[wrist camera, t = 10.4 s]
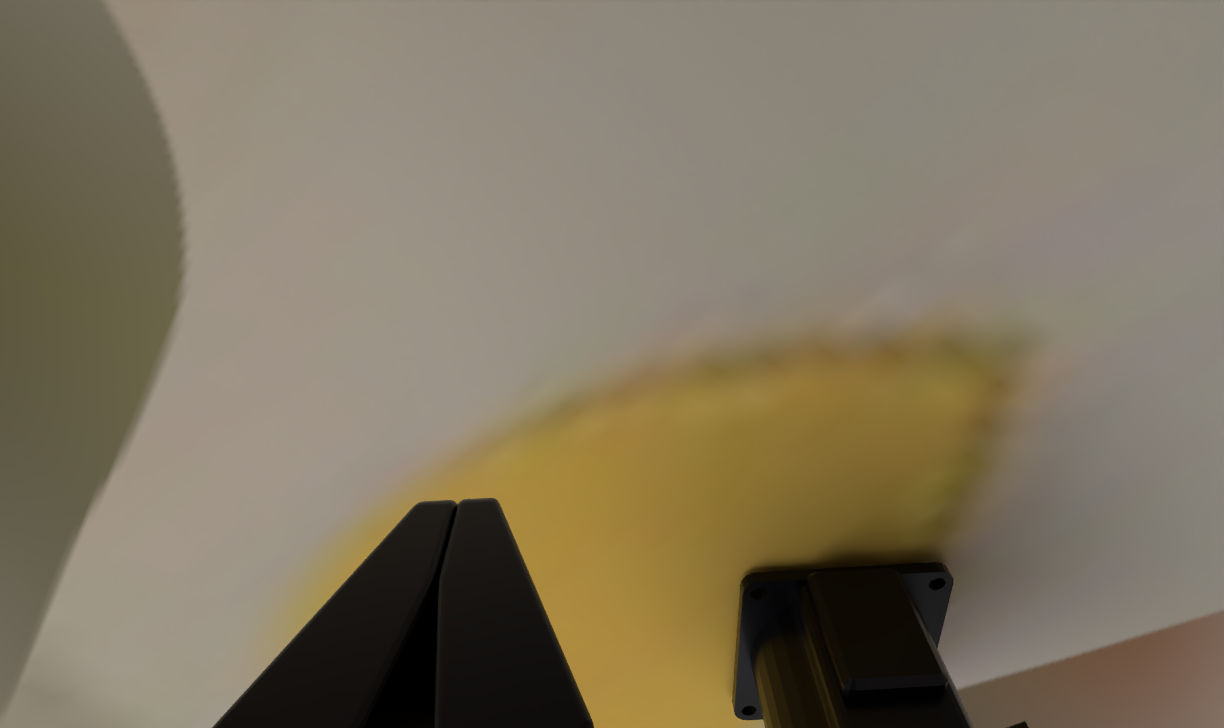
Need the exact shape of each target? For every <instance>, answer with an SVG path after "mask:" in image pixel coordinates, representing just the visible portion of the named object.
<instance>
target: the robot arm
mask: <svg viewBox="0 0 1224 728" xmlns="http://www.w3.org/2000/svg"><path fill="white" fill-rule="evenodd" d="M936 578H937V579H936ZM933 579H935V580H933ZM952 586H953V577H952V576H951V574H950V572H949V570H948V568H947V567H946V566H945V565H943V564H941V563H921V564H903V565H884V566H866V567H848V568H830V569H811V570H793V571H775V572H757V573H752V574H750V575H748V576H746V577H745V578H744V579H743V580H742V582H741V585H740V597H739V612H738V626H737V641H736V655H735V670H734V685H733V699H732V702H733V707H734V712H735V715H736V716H737V717H738V718H739V719H742V720H760V719H763V720H764V724H765V728H974V726H973V724H972V722H971V720H970V718H969V715H968V713H967V711H966V709H965V707H964V705H963V703H962V701H961V699H960V696H959V694H958V692H957V690H956V688H955V686H954V684H953V681H952V679H951V677H950V675H949V673H948V671H947V669H946V667H945V665H944V662H943V660H942V658H941V656H940V654H939V652H938V650H937V647H938V643H939V639H940V635H941V631H942V627H943V623H944V619H945V615H946V611H947V607H948V603H949V599H950V595H951V591H952ZM757 588H761V589H759V590H754V589H757ZM212 728H594V725H593V721H592V719H591V717H590V714H589V712H588V710H587V707H586V705H585V703H584V700H583V698H582V696H581V693H580V691H579V689H578V686H577V684H576V681H575V679H574V677H573V674H572V672H571V670H570V667H569V665H568V663H567V660H566V658H565V656H564V653H563V651H562V649H561V646H560V644H559V642H558V639H557V637H556V635H555V632H554V630H553V628H552V625H551V623H550V621H549V618H548V616H547V614H546V611H545V609H544V607H543V604H542V602H541V600H540V597H539V595H538V592H537V590H536V588H535V585H534V583H533V581H532V578H531V576H530V574H529V571H528V569H527V567H526V564H525V562H524V560H523V557H522V555H521V553H520V550H519V548H518V546H517V543H516V541H515V539H514V536H513V534H512V532H511V529H510V527H509V525H508V522H507V520H506V518H505V515H504V513H503V511H502V508H501V506H500V504H499V502H498V501H497V500H496V499H494V498H480V499H464V500H462V501H460V502H459V503H458V505H457V503H456V502H455V501H453V500H442V501H424V502H419V503H418V504H416V505H415V506H414V507H413V508H412V509H411V510H410V511H409V512H408V513H407V514H406V515H405V517H404V518H403V519H402V520H401V521H400V522H399V523H398V524H397V525H396V526H395V528H394V529H393V530H392V531H391V532H390V533H389V534H388V535H387V536H386V537H385V539H384V540H383V541H382V542H381V543H380V544H379V545H378V546H377V547H376V548H375V549H374V551H373V552H372V553H371V554H370V555H369V556H368V557H367V558H366V559H365V560H364V562H363V563H362V564H361V565H360V566H359V567H358V568H357V569H356V570H355V571H354V573H353V574H352V575H351V576H350V577H349V578H348V579H347V580H346V581H345V582H344V583H343V585H342V586H341V587H340V588H339V589H338V590H337V591H336V592H335V593H334V594H333V596H332V597H331V598H330V599H329V600H328V601H327V602H326V603H325V604H324V605H323V607H322V608H321V609H320V610H319V611H318V612H317V613H316V614H315V615H314V616H313V618H312V619H311V620H310V621H309V622H308V623H307V624H306V625H305V626H304V627H303V628H302V630H301V631H300V632H299V633H298V634H297V635H296V636H295V637H294V638H293V639H292V641H291V642H290V643H289V644H288V645H287V646H286V647H285V648H284V649H283V650H282V652H281V653H280V654H279V655H278V656H277V657H276V658H275V659H274V660H273V661H272V663H271V664H270V665H269V666H268V667H267V668H266V669H265V670H264V671H263V672H262V673H261V675H260V676H259V677H258V678H257V679H256V680H255V681H254V682H253V683H252V684H251V686H250V687H249V688H248V689H247V690H246V691H245V692H244V693H243V694H242V695H241V697H240V698H239V699H238V700H237V701H236V702H235V703H234V704H233V705H232V706H231V707H230V709H229V710H228V711H227V712H226V713H225V714H224V715H223V716H222V717H221V718H220V720H219V721H218V722H217V723H216V724H215V725H214V726H213V727H212ZM1007 728H1029V727H1028V726H1027V724H1026V722H1025V721H1023V722H1020V723H1018V724H1015V725H1012V726H1010V727H1007Z"/></svg>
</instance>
